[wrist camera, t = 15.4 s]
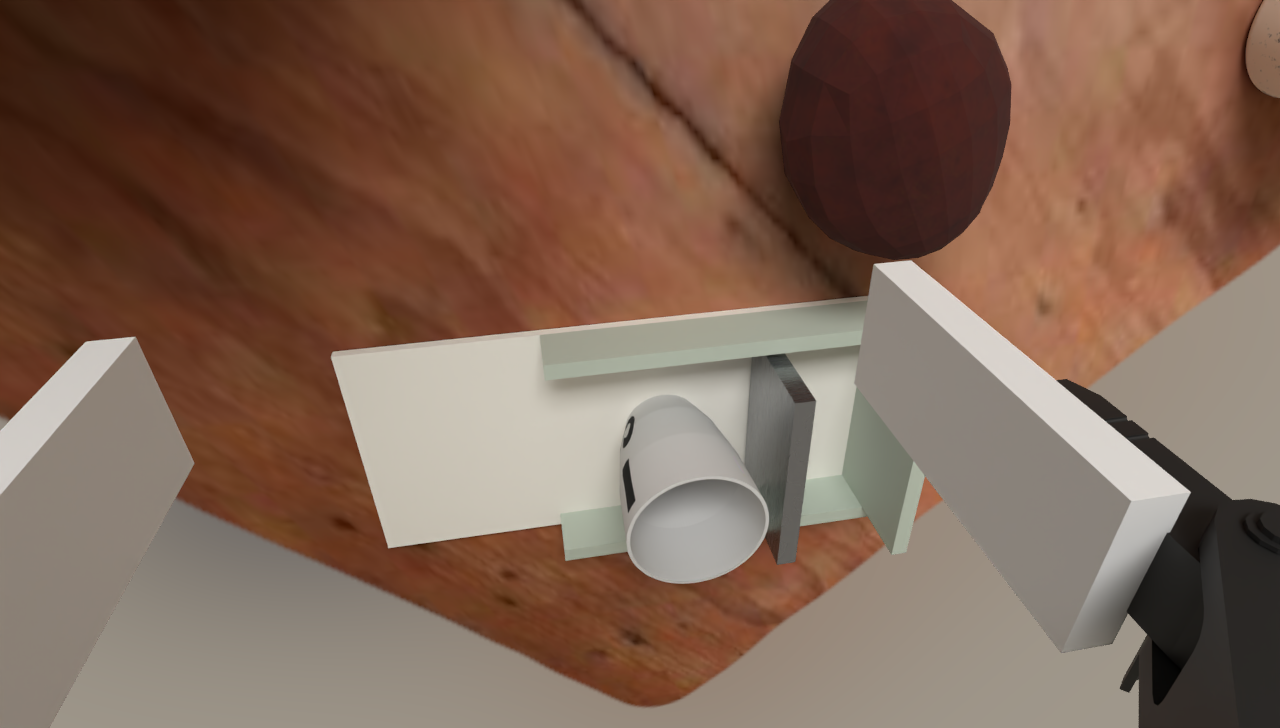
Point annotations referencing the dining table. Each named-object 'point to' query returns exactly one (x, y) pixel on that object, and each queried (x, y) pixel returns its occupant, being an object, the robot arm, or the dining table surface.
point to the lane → (605, 421)
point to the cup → (685, 494)
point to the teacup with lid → (1265, 49)
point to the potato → (894, 123)
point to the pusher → (779, 447)
